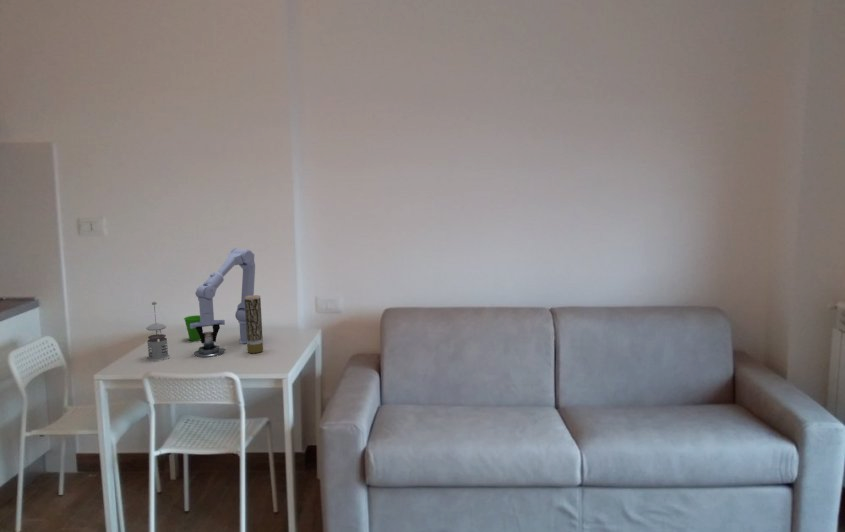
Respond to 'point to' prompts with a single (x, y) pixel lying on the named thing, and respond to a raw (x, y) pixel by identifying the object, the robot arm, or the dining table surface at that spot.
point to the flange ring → (209, 351)
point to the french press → (157, 348)
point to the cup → (193, 332)
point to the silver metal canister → (208, 339)
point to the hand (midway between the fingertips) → (208, 342)
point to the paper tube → (253, 324)
